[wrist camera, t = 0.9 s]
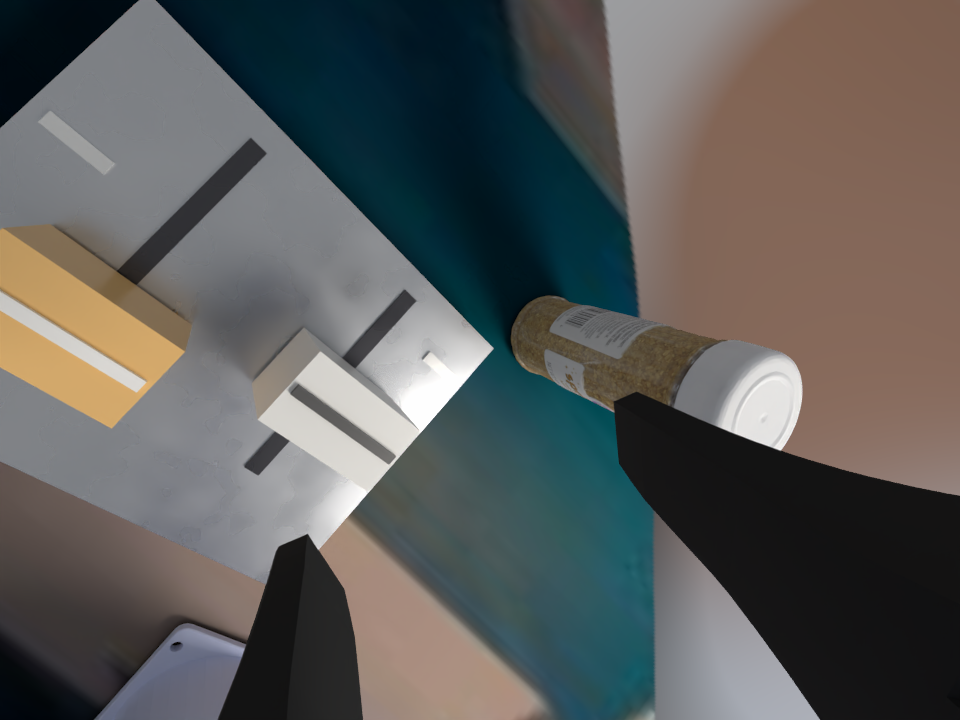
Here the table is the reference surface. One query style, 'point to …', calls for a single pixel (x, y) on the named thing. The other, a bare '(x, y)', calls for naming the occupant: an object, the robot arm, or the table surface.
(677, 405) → the sprinkles bottle
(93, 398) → the fader knob orange
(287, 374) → the fader knob white
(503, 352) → the table surface
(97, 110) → the fader panel
